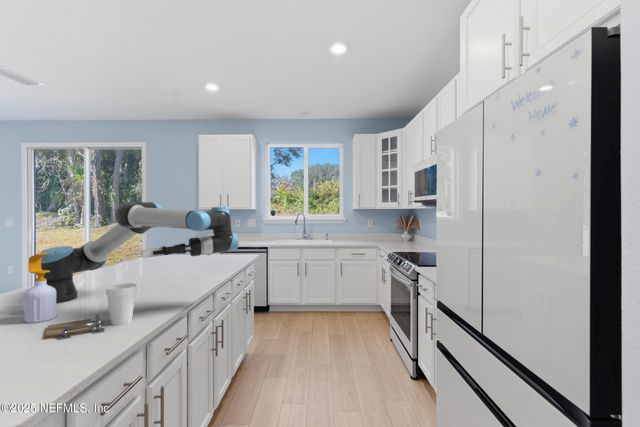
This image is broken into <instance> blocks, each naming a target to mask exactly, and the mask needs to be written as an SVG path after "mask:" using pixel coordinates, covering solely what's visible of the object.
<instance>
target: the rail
mask: <svg viewBox="0 0 640 427" xmlns="http://www.w3.org/2000/svg"><path fill="white" fill-rule="evenodd" d="M102 324H104V319H101V315H100V313H97V314H95V320H93V321H92V322H91V323H87V324H81V325H75V326H69V327H65V330H64V331H62V335H59V337H57V338H58V339H57V340H58V341H60V340H65V339H71V336H72V335H71V334H67V331H68V330H74V329H80V328H86V327H91V328H92V327H95V328H96V329H93V334H98V333H104V332H105V327H102Z"/></svg>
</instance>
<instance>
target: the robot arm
mask: <svg viewBox="0 0 640 427" xmlns="http://www.w3.org/2000/svg"><path fill="white" fill-rule="evenodd" d="M114 218H115V221H116V223H117V224H116V225H115V226H113V227H112V228H111V229H108V231H106V232H105V233H104V234H103V235H101V236H99V237H98V238H97V239H96V240H90V241H88V242H87V241H86V243H85V244H83V245H82V246H80V247H74V248H73V247H72V246H71V245H64V246H63V245H62V246H54V247H49V248H46V249H43V250H42V251H41V252H40V253H39V254H41V253H49V254H47V255H44V256H42V258H41V269H42V270H49V271H50V272H46V274H45V275H44V278H46V280H47V281H46V284H47V285H49V286H52V287H53V288H55V289H56V304H58V303H64V302H68V301H72V300H75V299H77V298H78V291H77V288H76V285H75V283H74V278H73V277H74V275H73V274H77V273H82V272H89V271H94V270H97V269H100V268H103V266H104V265H105V264H106V263H107V260H108V256H109V255H110V253H112V252H113V251H116V249H117V248H119V247H120V246H122V245H124V243H126V242H127V241H130V239H131V238H133V237H134V236H136V235H141V234H142V235H143V234H145V233H146V232H147V231H149V230H150V229H152V228H170V229H182V230H192V231H195V232H203V231H210V230H211V231H213V232H212V234H213V235H206V236H200V237H191V238H188V244H186V243H179V244H174V245H173V246H172V245H170V246H165V245H163V246H161V247H153V248H145V249H140V257H142V258H143V259H146V258H147V259H148V258H153V257H160V256H169V255H173V254H176V255H179V254H187V252H189V254H190V256H191V257H199V256H201V255H203V256H206V255H207V256H210V255H211V254H217V253H218V254H219V253H226V252H232V251H236V250H238V248H239V245H240V244H239V242H240V240H239V237H238V234H237V232H233V231H232V222H231V213H230V208H229V207H228V206H223V205H222V206H219V205H218V206H214V207H211V209H210V210H209V211H208V210H189V209H187V210H186V209H176V208H175V209H172V208H164V207H163V206H162V205H161V204H159V203H158V202H152V201H149V202H148V201H145V202H143V201H126V202H123V203H122V204H120V205H119V206H118V207H117V208H116V209H115V212H114Z"/></svg>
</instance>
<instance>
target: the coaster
mask: <svg viewBox="0 0 640 427" xmlns="http://www.w3.org/2000/svg"><path fill="white" fill-rule="evenodd" d="M87 323H92V319H91V318H88V319H81V320H76V321H69V322H62V323H56V324H50V325H49V324H48V325H47V328H46V330H45V335H44V340H48V339H53V338H54V339H55V338H59V335H62V331H64V330H65V327H69V326H75V325H81V324H87ZM87 332H92V327H86V328H80V329H74V330H68V331H67V334H71V336H72V335H76V334H81V333H87Z"/></svg>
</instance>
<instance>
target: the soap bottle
mask: <svg viewBox="0 0 640 427" xmlns="http://www.w3.org/2000/svg"><path fill="white" fill-rule="evenodd" d="M40 253H41V252H40ZM40 253H37V254H34V255H31V256H29V258H28V272H29V273H30V274H35V276H37V278H35V279H34V285H33V286H32V287H30V288H29V289H27V290H26V291H25V293H24V295H23V300H24V309H23V321H24V323H26V324H27V323H28V324H36V323H43V322H47V321H51V320H53V319H55V318H56V317H57V303H56V289H55V288H53V287H52V286H49V285H47V284H46V281H47V280H46V278H44V275H45V274H46V272H50V271H49V270H42V269H41V258H42V256H44V255H47V254H49V253H41V254H40Z"/></svg>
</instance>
